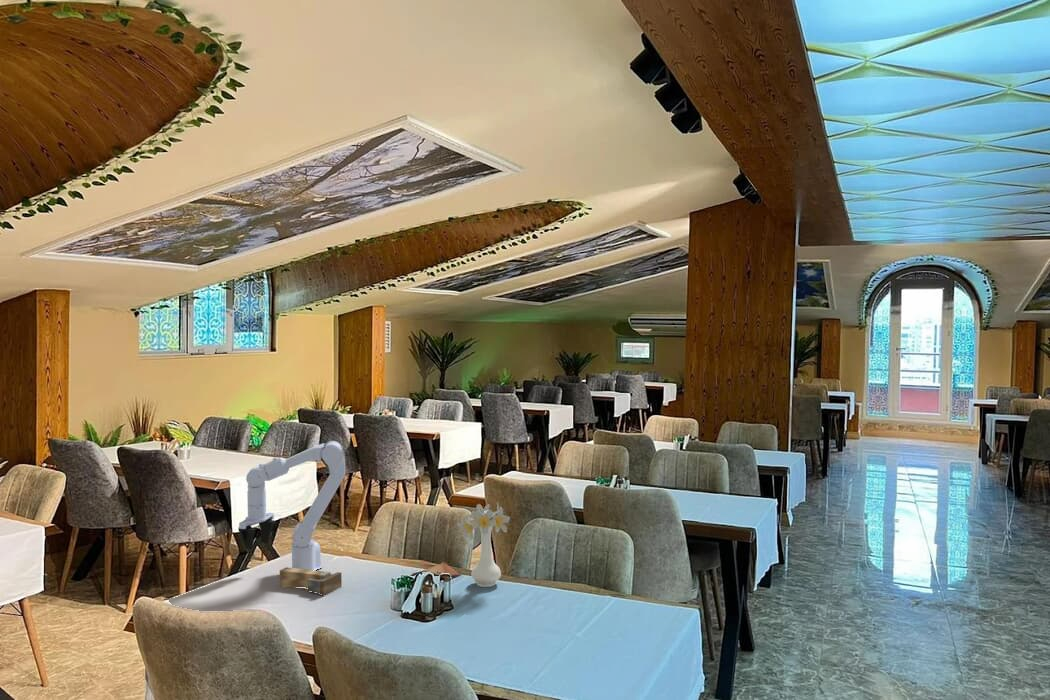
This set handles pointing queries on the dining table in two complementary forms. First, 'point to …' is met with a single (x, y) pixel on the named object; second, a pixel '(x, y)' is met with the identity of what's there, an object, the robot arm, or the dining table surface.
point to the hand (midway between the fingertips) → (257, 545)
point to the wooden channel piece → (325, 584)
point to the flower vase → (485, 542)
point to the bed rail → (300, 577)
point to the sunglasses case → (440, 570)
